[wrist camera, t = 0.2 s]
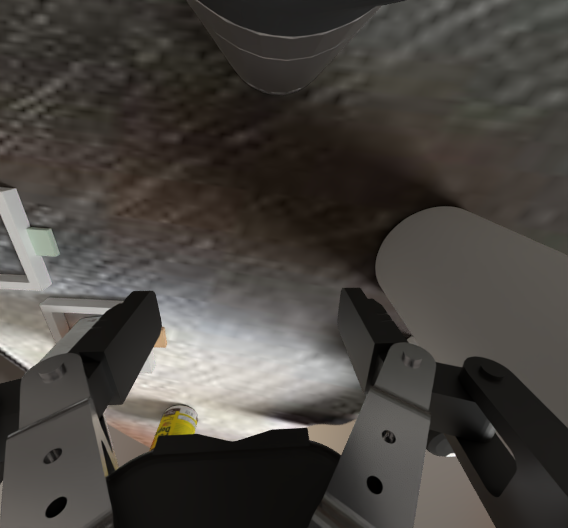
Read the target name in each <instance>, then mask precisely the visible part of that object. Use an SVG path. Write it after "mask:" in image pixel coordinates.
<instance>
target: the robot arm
mask: <svg viewBox="0 0 568 528" xmlns="http://www.w3.org/2000/svg"><path fill="white" fill-rule="evenodd" d="M186 1H187V3H188V4H189V5H190V7H191V8H192V9H193V11H194V12H195V14H196V15H197V17H198V18H199V19H200V21H201V22H202V24H203V25H204V27H205V28H206V30H207V31H208V33H209V34H210V35H211V37H212V38H213V40H214V41H215V43H216V44H217V46H218V47H219V49H220V50H221V52H222V53H223V54H224V56H225V57H226V59H227V60H228V62H229V63H230V65H231V66H232V68H233V69H234V70H235V71H236V73H237V74H238V75H239V76H240V77H241V79H242V80H243V81H245V82H246V83H247V84H248V85H250V86H251V87H252V88H254V89H256V90H258V91H260V92H262V93H266V94H270V95H287V94H290V93H294V92H297V91H299V90H300V89H302V88H304V87H306V86H307V85H308V84H309V83H310V82H312V81H313V80H314V79H315V78H316V77H317V76H318V75H319V74H320V73H321V72H322V71H323V70H324V69H325V67H326V66H327V65H328V64H329V63H330V62H331V61H332V60H333V59H334V58H335V57H336V55H337V54H338V53H339V52H340V51H341V50H342V49H343V48H344V47H345V46H346V44H347V43H348V42H349V41H350V40H351V39H352V38H353V37H354V36H355V35H356V34H357V32H358V31H359V30H360V29H361V28H362V27H363V26H364V25H365V24H366V23H367V22H368V20H369V19H370V18H371V17H372V16H373V15H374V14H375V13H376V12H377V11H378V9H379V8H380V7H381V6H382V5H387V4H392V3H396V2H401V1H405V0H186ZM161 328H162V322H161V317H160V312H159V308H158V303H157V298H156V295H155V293H154V291H133V292H132V293H131V294H130V295H129V296H128V297H127V298H126V299H125V300H124V302H123V303H119V304H117V305H115V306H114V307H112V308H110V309H109V310H107V311H106V312H105V313H104V314H103V315H102V316H101V317H100V319H99V321H97V322H96V323H95V324H94V325H93V326H92V329H89V330H88V331H87V332H86V334H85V335H84V336H83V337H82V338H81V339H80V340H79V341H78V342H77V343H76V344H75V345H74V346H73V347H72V348H71V350H70V351H69V352H68V353H65V354H59V355H56V356H53V357H50V358H47V359H45V360H43V361H41V362H40V363H38V364H36V365H35V366H33V367H32V368H31V369H30V370H28V371H27V372H26V373H25V375H24V376H23V378H21V379H17V380H13V381H9V382H5V383H1V384H0V483H1V482H2V481H3V489H2V502H1V503H2V504H1V514H0V515H1V516H0V528H413V527H414V520H415V514H416V508H417V501H418V495H419V489H420V483H421V476H422V470H423V463H424V457H425V450H426V445H427V438H428V432H429V430H433V431H437V432H441V433H444V435H445V437H446V439H447V440H448V442H449V444H450V446H451V448H452V449H453V451H454V453H455V455H456V456H457V458H458V460H459V462H460V464H461V466H462V467H463V469H464V471H465V473H466V475H467V476H468V478H469V480H470V482H471V484H472V486H473V487H474V489H475V491H476V492H477V494H478V496H479V498H480V500H481V502H482V503H483V505H484V507H485V508H486V511H487V512H488V514H489V516H490V518H491V520H492V522H493V523H494V525H495V527H496V528H568V428H567V427H566V426H565V425H564V424H563V423H562V422H561V421H560V420H559V419H558V418H557V417H556V416H555V415H554V414H553V413H552V412H551V411H550V410H549V409H548V408H547V407H546V406H545V405H544V404H543V403H542V402H541V401H540V400H539V399H538V398H537V397H536V396H535V395H534V394H533V393H532V392H531V391H530V390H529V389H528V388H527V387H526V386H525V385H524V384H523V383H522V382H521V381H520V380H519V379H518V378H517V377H516V376H515V375H514V374H513V373H512V372H511V371H510V370H509V369H507V368H506V367H505V366H503V365H501V364H499V363H498V362H495V361H493V360H490V359H488V358H484V357H477V356H474V357H469V358H467V359H466V360H465V361H464V363H463V366H462V367H458V366H453V365H448V364H443V363H439V362H435V360H434V358H433V356H432V355H431V354H430V353H429V352H427V351H426V350H425V349H423V348H421V347H419V346H417V345H414V344H411V343H409V342H408V341H407V340H406V338H405V337H404V335H403V334H402V333H401V331H400V330H399V328H398V327H397V326H396V324H395V323H394V321H392V319H391V317H390V316H389V315H388V314H387V312H386V310H385V309H384V308H383V306H382V305H381V304H379V303H378V302H376V301H375V300H374V299H367V297H366V296H365V294H364V293H363V291H362V290H361V288H342V290H341V295H340V303H339V311H338V329H339V332H340V335H341V337H342V340H343V343H344V345H345V348H346V350H347V353H348V355H349V358H350V360H351V363H352V365H353V368H354V371H355V373H356V376H357V378H358V381H359V383H360V386H361V388H362V391H363V393H364V394H367V397H366V399H365V401H364V404H363V406H362V408H361V411H360V413H359V415H358V418H357V420H356V422H355V425H354V427H353V430H352V432H351V434H350V436H349V439H348V441H347V443H346V446H345V448H344V450H343V453H342V455H340V454H339V453H337V452H335V451H334V450H333V449H330V448H329V447H327V446H325V445H323V444H320V443H317V442H314V441H310V440H309V436H308V429H307V428H295V429H276V430H269V431H266V432H263V433H260V434H257V435H254V436H251V437H248V438H245V439H241V440H238V441H233V442H232V441H226V440H222V439H217V438H213V437H209V436H204V435H200V434H183V435H164V436H159V437H158V440H157V442H156V445H155V448H154V450H152V451H149V452H147V453H144V454H142V455H140V456H138V457H136V458H134V459H132V460H130V461H129V462H127V463H126V464H124V465H123V466H121V467H119V466H118V463H117V459H116V456H115V452H114V448H113V445H112V441H111V437H110V433H109V430H108V426H107V422H106V419H105V416H104V411H105V409H106V408H107V406H108V405H121V404H123V403H124V401H125V399H126V397H127V395H128V393H129V392H130V390H131V388H132V386H133V384H134V382H135V380H136V379H137V377H138V375H139V373H140V371H141V369H142V368H143V366H144V364H145V362H146V360H147V358H148V356H149V355H150V353H151V351H152V349H153V347H154V345H155V344H156V342H157V340H158V338H159V336H160V333H161ZM496 431H497V432H498V434H499V435H500V436H501V438H502V439H503V440H504V442H505V443H506V444H507V446H508V447H509V449H510V450H511V452H512V453H513V455H514V458H515V459H514V458H513V456H512V455H511V453H510V452H509V451H508V449H507V448H506V447H505V445H504V444H503V443H502V441H501V440H500V438H499V437H498V436H497V434H496V433H495V432H496Z"/></svg>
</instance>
